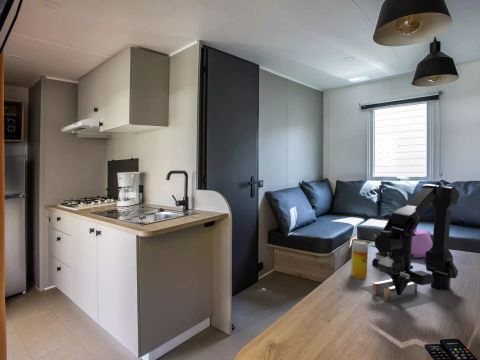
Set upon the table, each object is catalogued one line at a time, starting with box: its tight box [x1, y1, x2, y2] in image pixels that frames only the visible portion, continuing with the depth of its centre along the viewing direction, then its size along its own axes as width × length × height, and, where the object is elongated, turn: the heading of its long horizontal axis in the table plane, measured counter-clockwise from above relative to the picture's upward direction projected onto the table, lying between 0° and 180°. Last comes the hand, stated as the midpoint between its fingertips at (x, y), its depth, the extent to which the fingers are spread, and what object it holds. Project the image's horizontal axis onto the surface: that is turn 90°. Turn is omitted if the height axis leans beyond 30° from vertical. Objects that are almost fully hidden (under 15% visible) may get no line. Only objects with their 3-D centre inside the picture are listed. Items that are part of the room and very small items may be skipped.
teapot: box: [392, 226, 433, 259], centre depth 152 cm, size 23×21×15 cm
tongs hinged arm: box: [383, 281, 418, 302], centre depth 100 cm, size 18×5×4 cm, turn 113°
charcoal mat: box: [360, 284, 438, 311], centre depth 101 cm, size 18×17×1 cm
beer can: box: [350, 240, 369, 279], centre depth 117 cm, size 6×6×15 cm
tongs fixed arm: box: [372, 278, 394, 297], centre depth 102 cm, size 13×1×4 cm, turn 113°
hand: (398, 294), depth 95 cm, fingers closed
